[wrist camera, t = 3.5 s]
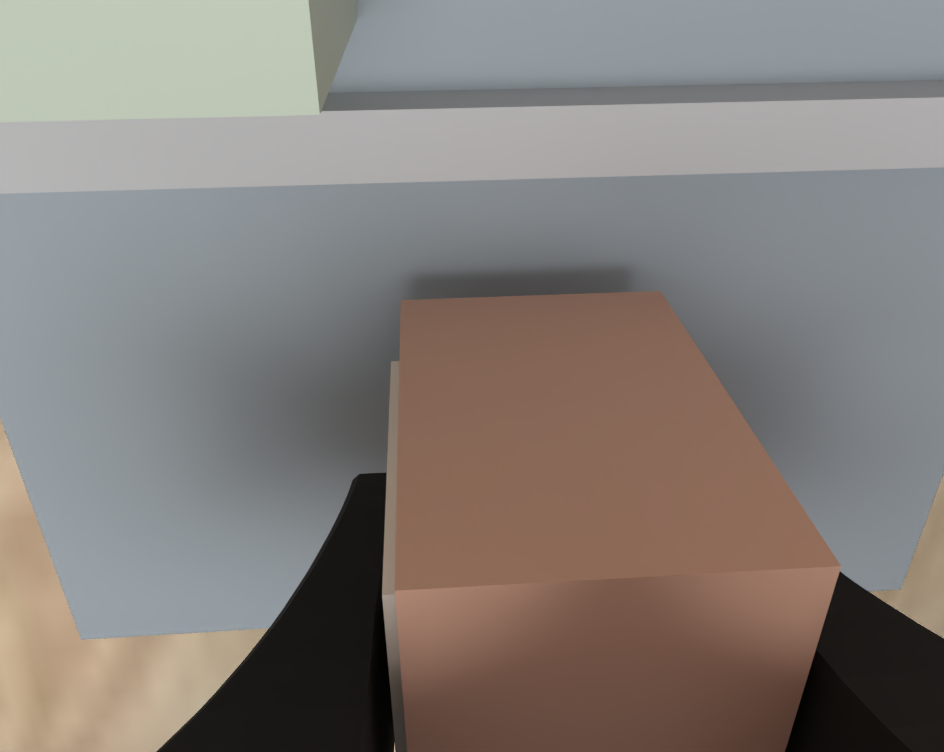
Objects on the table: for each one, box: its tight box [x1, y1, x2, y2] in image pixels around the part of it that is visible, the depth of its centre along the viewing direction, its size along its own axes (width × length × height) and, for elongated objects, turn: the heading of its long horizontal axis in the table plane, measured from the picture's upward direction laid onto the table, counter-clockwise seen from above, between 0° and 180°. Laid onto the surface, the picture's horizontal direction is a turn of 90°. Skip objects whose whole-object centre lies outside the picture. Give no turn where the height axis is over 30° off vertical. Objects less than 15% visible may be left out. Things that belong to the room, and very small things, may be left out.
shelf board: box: [0, 0, 944, 640], centre depth 13 cm, size 18×18×3 cm
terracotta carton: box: [382, 291, 841, 752], centre depth 11 cm, size 6×4×6 cm, turn 0°
